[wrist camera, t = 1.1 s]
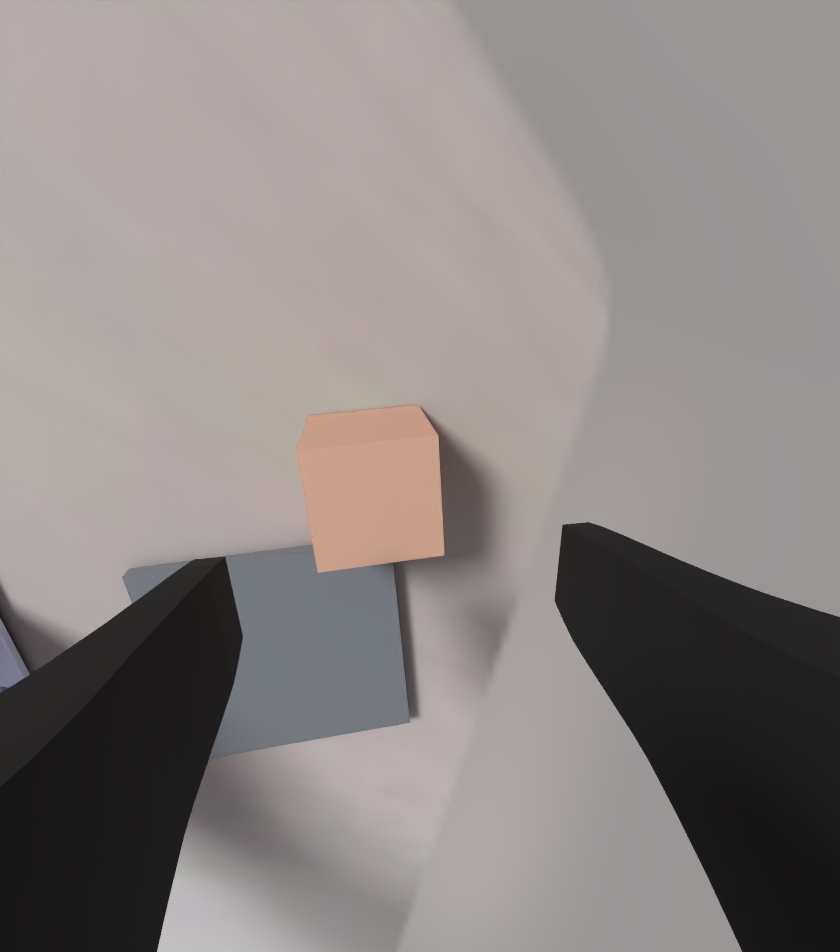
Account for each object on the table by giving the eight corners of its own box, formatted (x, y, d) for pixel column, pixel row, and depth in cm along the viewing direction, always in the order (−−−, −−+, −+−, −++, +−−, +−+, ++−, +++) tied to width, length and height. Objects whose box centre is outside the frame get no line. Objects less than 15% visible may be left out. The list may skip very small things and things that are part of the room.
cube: (324, 515, 19) (317, 572, 15) (308, 415, 18) (295, 450, 13) (424, 502, 20) (444, 555, 16) (418, 405, 18) (438, 435, 14)
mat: (196, 750, 23) (192, 761, 22) (128, 568, 19) (122, 577, 18) (408, 712, 24) (409, 722, 23) (389, 534, 20) (390, 541, 19)
